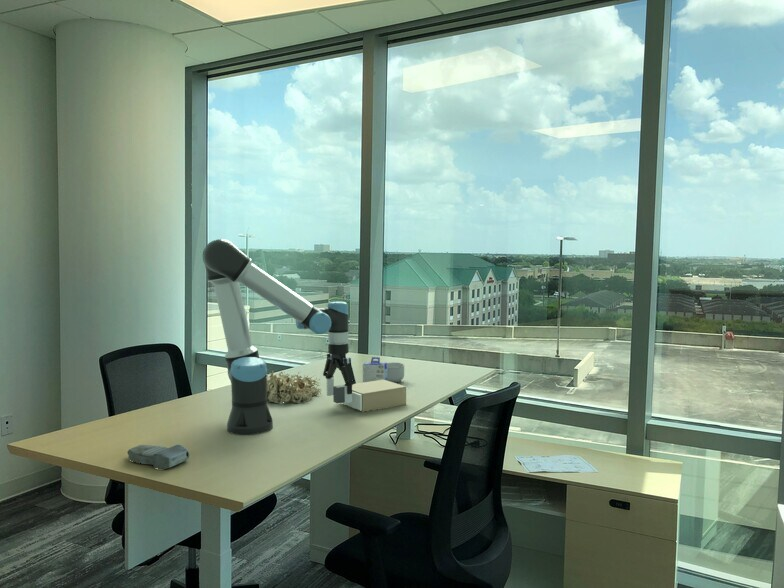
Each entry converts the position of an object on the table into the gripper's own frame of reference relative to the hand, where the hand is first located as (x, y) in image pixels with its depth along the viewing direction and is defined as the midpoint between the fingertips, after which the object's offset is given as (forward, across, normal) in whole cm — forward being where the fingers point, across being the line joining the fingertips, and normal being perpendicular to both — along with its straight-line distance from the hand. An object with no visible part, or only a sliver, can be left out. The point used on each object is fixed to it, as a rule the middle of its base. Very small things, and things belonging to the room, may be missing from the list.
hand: (339, 398), depth 229 cm
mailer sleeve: (+4, 0, -16) cm, 16 cm away
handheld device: (+5, -17, +71) cm, 74 cm away
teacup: (+4, +30, -44) cm, 54 cm away
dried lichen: (+5, +32, +9) cm, 33 cm away
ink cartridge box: (+4, +17, -28) cm, 33 cm away
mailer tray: (+3, 0, -12) cm, 12 cm away
